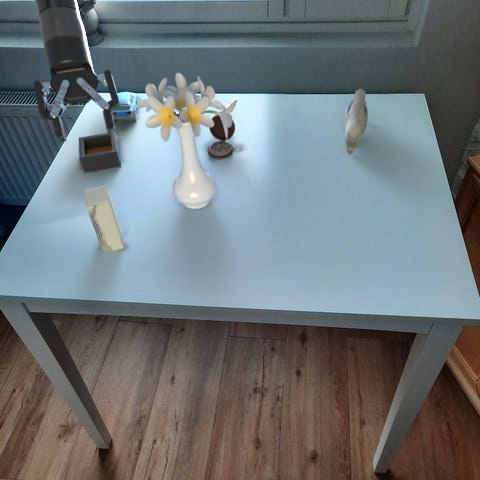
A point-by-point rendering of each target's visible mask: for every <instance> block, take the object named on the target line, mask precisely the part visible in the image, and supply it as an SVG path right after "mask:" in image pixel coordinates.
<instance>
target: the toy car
mask: <svg viewBox="0 0 480 480" xmlns="http://www.w3.org/2000/svg"><path fill="white" fill-rule="evenodd" d="M117 94H118V98H119V101H120V107H119V108H116V109H114V110H113V111H112V116H113V121H114V124H118V123H119V122H121V121H132V123H137V122H138V117H137V115H138V108H136V105H137V104H138V103H139V102H140V101H139V99H138V95H136V93H134V92H129V91H123V92H117Z"/></svg>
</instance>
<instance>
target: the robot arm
mask: <svg viewBox="0 0 480 480" xmlns="http://www.w3.org/2000/svg"><path fill="white" fill-rule="evenodd" d="M34 3H35V7H36V13H37V17H38V20H39V29H40V30H39V31H40V35H41V39H42V43H43V48H44V53H45V57H46V60H47V61H46V62H47V65H48V70H49V73H50V80H49V81H44V82H41V81H40V80H34V82H33V87H34V93H35V98H36V104H37V109H38V114H39V115H40V116H41V117H42V118H43V119H44V120H50V121H51V122H52V126H53V130H54V135H55V136H56V137H57V139H59V140H60V141H61V142H63V143H65V142H67V136H66V131H65V128H64V127H65V126H64V124H63V120H62V118H63V117H62V116H63V115H64V112H65V111H66V110H67V108H68V106H69V105H70V106H77V105H79V104H89V103H90V101H93V103H95V104H96V105H97V106H98V107H100V108H101V109H102V115H103V119H104V124H105V128H106V133H108V134H113V133H112V132H113V131H115V130H116V129H115V128H116V125H115V123H114V121H113V116H112V111H113V110H114V109H116V108H119V107H120V101H119V98H118V94H117V93H118V91H117V88H116V84H115V83H116V82H115V80H114V77H113V75H112V72H111V71H110V70H109V69H105V70H104V72H103V73H99V74H96V73H95V71H94V67H93V62H92V58H91V53H90V50H89V44H88V37H87V34H86V30H85V26H84V24H83V21H82V19H81V14H80V10H79V6H78V2H77V0H34ZM99 83H102V85H103V86H104V87H105V88H107V89H108V92H109V96H110V100H109V101H106V99H105V98H103V97H102V96H101V95H100V93H99V92H97V88H98V86H99ZM51 90H52V91H53V92H54V93H55V94H56V96H55V98H54V101H53V105H52V107H51V110H49V104H48V98H47V97H48V96H49V95H50V91H51Z"/></svg>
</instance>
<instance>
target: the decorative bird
mask: <svg viewBox="0 0 480 480" xmlns="http://www.w3.org/2000/svg"><path fill="white" fill-rule="evenodd" d="M354 92H355V93H354V94H353V99H352V100H351V102H350V104H349V105H348V107H347V109H346V111H345V114H344V118H343V124H342V125H343V126H342V127H343V132H344V142H345V148H346V151H347V153H348V154H349V155H351V154H353V152H354V151H356V149H357V146H358V144H359V143H360V141H361V137H362V135H363V134H364V133H365V131H366V129H367V125H368V118H369V111H368V106H367V101H366V97H367V96H366V94H367V93H366V90H364V89H363V88H358V90H357V89H356V90H355V91H354Z"/></svg>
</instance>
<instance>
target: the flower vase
mask: <svg viewBox="0 0 480 480" xmlns="http://www.w3.org/2000/svg"><path fill="white" fill-rule="evenodd" d="M174 79H175V85H176V87H175V86H173V85H167V82H168V78H167V77H164V78H163V79H162V80H161V81H160V82H159V85H158V87H156V86H155V85H154V84H153V83H148V84H147V85H146V86H145V90H144V91H145V94H146V97H148V98H144V99H142V100H140V101H138V102H139V103H138V104H137V105H136V108H137V109H141V108H145V112H146V113H148V112H150V111H153V112H154V113H155V114H153V115H150V116H148V117H147V119H146V120H145V123H144V124H145V127H146V128H148V129H157V128H159V127H160V137H161V139H162V141H163V142H166V143H167V142H168V141H169V140H170V136H171V132H172V131H171V130H172V128H174V129H176V131H177V134H178V137H179V143H180V149H181V150H180V151H181V160H182V162H181V163H182V164H181V168H180V169H181V170H180V172H179V173H178V174H177V175H176V176H175V178H174V180H173V183H172V187H171V188H172V194H173V195H174V198H175V199H176V200H177V201H179V202H180V203H182V204H183V206H184V207H186V208H188V209H190V210H199V209H203V208H205V207H207V206H208V205H209V204H210V203H211V200H212V199H213V198H214V196H215V194H216V193H217V189H218V186H217V181H216V179H215V177H214V176H213V174H212V173H211V172H209V171H208V170H207V169H204V167H203V166H202V164H201V161H200V158H199V154H198V153H199V152H198V149H197V148H198V147H197V141H196V138H199V137H200V136H201V132H202V128H201V126H204V127H206V128H209V127H210V128H211V127H213V126H214V122H213V120H212V117H210V116H209V115H207V114H213V115H219V116H220V118H221V121H222V124H223V127H224V131H225V135H226V140H225V141H228V140H227V137H228V128H229V127H231V126H232V120H233V115H232V114H230V113H232V112H233V111H234V109H235V107H236V106H237V103H238V98H237V97H235V98H234V99H233V100H232V101H231V102H230V103H229V104H228V105H227V106H225V105H224V103H222V102H220V101H218V100H216V99H215V97H216V92H215V88H213V86H211V85H208V86H206V88H205V84H204V83H203V81H202V79H201V78H200V76H198V75H197V76H196V79H197V81H194V82H191V83H190V84H189V85H188V83H187V81H186V78H185V76H184V75H183V74H182V73H180V72H176V73H175V76H174ZM199 92H200V95H199V94H198V93H199ZM197 94H198V95H197ZM164 98H165V100H164ZM208 107H210V108H214V109H217V110H219V111H216V110H209V109H208ZM175 110H177V111H178V112H176V111H175Z"/></svg>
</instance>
